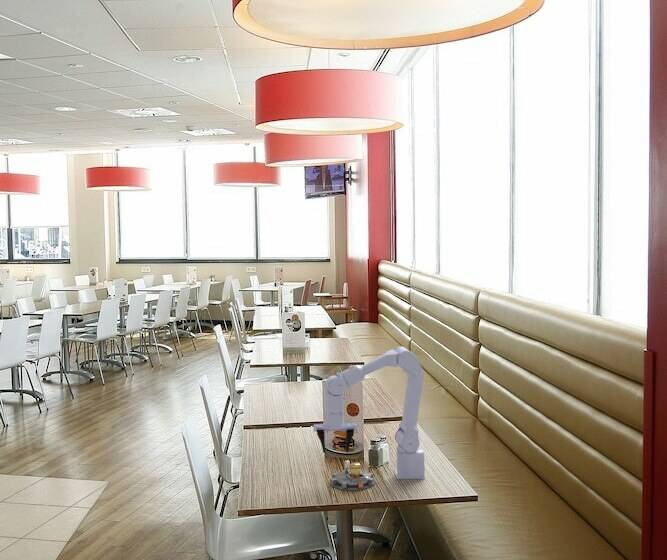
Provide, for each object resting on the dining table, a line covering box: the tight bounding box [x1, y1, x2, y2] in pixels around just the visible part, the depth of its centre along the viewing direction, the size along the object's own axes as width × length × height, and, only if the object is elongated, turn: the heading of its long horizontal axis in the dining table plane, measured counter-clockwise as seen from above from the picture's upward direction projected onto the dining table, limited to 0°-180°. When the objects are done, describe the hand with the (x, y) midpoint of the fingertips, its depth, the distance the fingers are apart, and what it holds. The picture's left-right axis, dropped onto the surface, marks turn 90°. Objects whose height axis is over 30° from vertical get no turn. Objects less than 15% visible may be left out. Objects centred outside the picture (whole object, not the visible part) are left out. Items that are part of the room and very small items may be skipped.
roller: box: [350, 462, 361, 479], centre depth 240 cm, size 3×3×5 cm
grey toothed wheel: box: [331, 459, 375, 488], centre depth 243 cm, size 14×14×6 cm
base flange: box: [329, 478, 376, 492], centre depth 243 cm, size 15×15×1 cm
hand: (335, 451), depth 244 cm, fingers open, 7 cm apart
